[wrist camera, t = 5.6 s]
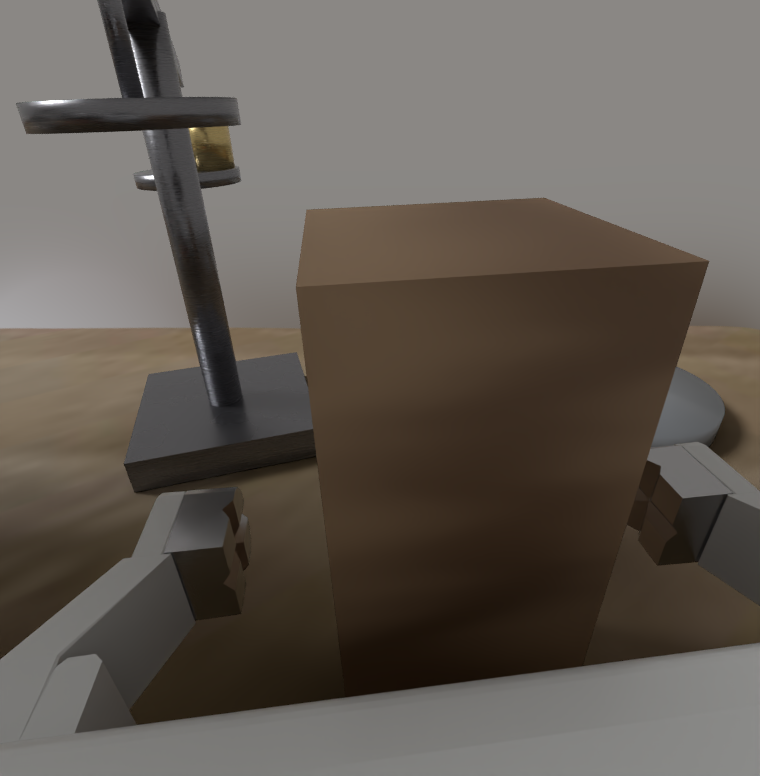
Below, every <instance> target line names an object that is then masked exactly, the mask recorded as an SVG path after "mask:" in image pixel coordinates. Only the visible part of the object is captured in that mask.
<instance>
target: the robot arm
mask: <svg viewBox="0 0 760 776" xmlns="http://www.w3.org/2000/svg"><path fill="white" fill-rule="evenodd" d="M243 504H244V500H243V496H242V493H241V489H240V488H238V487H230V488H216V489H203V490H189V491H181V492H168V493H162V494H160V495H159V496H158V497H157V498H156V501H155V503H154V505H153V508H152V510H151V512H150V515H149V517H148V519H147V522H146V524H145V526H144V529H143V531H142V533H141V536H140V538H139V540H138V543H137V545H136V548H135V550H134V552H133V555H132V557H131V558H124V559H122V560H121V561H120V562H118V563H117V564H116V565H115V566H113V567H112V568H111V569H110V570H109V571H107V572H106V573H105V574H104V575H102V576H101V577H100V578H99V579H98V580H96V581H95V582H94V583H93V584H92V585H90V586H89V587H88V588H87V589H85V590H84V591H83V592H82V593H81V594H79V595H78V596H77V597H76V598H74V599H73V600H72V601H71V602H70V603H68V604H67V605H66V606H65V607H64V608H62V609H61V610H60V611H59V612H57V613H56V614H55V615H54V616H53V617H51V618H50V619H49V620H48V621H46V622H45V623H44V624H43V625H42V626H40V627H39V628H38V629H37V630H36V631H34V632H33V633H32V634H31V635H29V636H28V637H27V638H26V639H25V640H23V641H22V642H21V643H20V644H18V645H17V646H16V647H15V648H14V649H12V650H11V651H10V652H9V653H8V654H6V655H5V656H4V657H3V658H1V659H0V776H760V643H754V644H746V645H739V646H731V647H724V648H716V649H709V650H701V651H694V652H686V653H678V654H671V655H663V656H656V657H648V658H641V659H633V660H626V661H618V662H611V663H603V664H596V665H588V666H581V667H573V668H566V669H558V670H551V671H543V672H536V673H528V674H521V675H513V676H506V677H498V678H491V679H483V680H475V681H468V682H460V683H452V684H445V685H437V686H429V687H422V688H414V689H407V690H399V691H391V692H384V693H376V694H368V695H361V696H353V697H346V698H338V699H330V700H323V701H315V702H307V703H300V704H292V705H285V706H277V707H270V708H262V709H255V710H247V711H239V712H232V713H224V714H217V715H209V716H202V717H194V718H187V719H179V720H172V721H164V722H156V723H149V724H141V725H137V724H136V722H135V720H134V718H133V717H132V715H131V713H130V711H129V710H130V708H131V707H132V706H133V704H134V703H135V702H136V701H137V699H138V698H139V697H140V695H141V694H142V693H143V691H144V690H145V689H146V687H147V686H148V685H149V684H150V682H151V681H152V680H153V678H154V677H155V676H156V674H157V673H158V672H159V671H160V669H161V668H162V667H163V665H164V664H165V663H166V661H167V660H168V659H169V658H170V656H171V655H172V654H173V652H174V651H175V650H176V648H177V647H178V646H179V644H180V643H181V642H182V641H183V639H184V638H185V637H186V635H187V634H188V633H189V631H190V630H191V629H192V628H193V626H194V625H195V624H196V623H195V621H196V620H203V619H210V618H217V617H224V616H231V615H238V614H241V612H242V606H243V600H244V594H245V588H246V582H245V577H244V573H243V571H244V570H245V569H246V568H247V567H248V565H249V562H250V554H251V534H250V526H249V522H248V518H247V517H246V516H244V515H243V514H242V510H243ZM627 525H629V526H631V527H632V528H634V529H636V530H638V531H639V537H638V541H639V542H640V543H641V545H642V546H643V547H644V549H645V550H646V551H647V553H648V554H649V555H650V557H651V558H652V559H653V561H654V562H655V563H656V564H657V566H658V565H669V564H681V563H692V562H698V565H699V566H701V567H702V568H704V569H705V570H707V571H708V572H710V573H711V574H713V575H714V576H716V577H717V578H719V579H720V580H722V581H723V582H725V583H726V584H728V585H729V586H731V587H732V588H734V589H735V590H737V591H738V592H740V593H741V594H743V595H744V596H746V597H747V598H749V599H750V600H752V601H753V602H755V603H756V604H758V605H759V606H760V491H759V490H758V489H757V488H755V487H754V486H753V485H752V484H751V483H749V482H748V481H747V480H746V479H745V478H744V477H742V476H741V475H740V474H739V473H738V472H737V471H735V470H734V469H733V468H732V467H731V466H730V465H728V464H727V463H726V462H725V461H724V460H723V459H721V458H720V457H719V456H718V455H717V454H716V453H714V452H713V451H712V450H711V449H710V448H708V447H707V446H706V445H704V444H702V443H699V442H690V443H682V444H674V445H668V446H659V447H651V448H650V452H649V455H648V458H647V461H646V464H645V467H644V471H643V474H642V477H641V480H640V483H639V487H638V490H637V493H636V496H635V499H634V503H633V506H632V509H631V512H630V515H629V518H628V522H627Z"/></svg>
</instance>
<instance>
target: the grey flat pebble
mask: <svg viewBox="0 0 760 776" xmlns="http://www.w3.org/2000/svg"><path fill="white" fill-rule="evenodd" d="M724 414H725V407H724V403H723V401H722V399H721V397H720V396H719V395H718V393H717V392H716V391H715V390H714V389H713V388H712V387H711V386H710V385H708V384H707V383H706V382H704V381H703V380H701V379H700V378H698V377H696V376H695V375H693V374H691V373H689V372H687V371H685V370H683V369H681V368H678V367H676V369H675V372H674V375H673V378H672V381H671V385H670V388H669V391H668V394H667V397H666V401H665V404H664V407H663V410H662V413H661V416H660V420H659V423H658V426H657V429H656V432H655V436H654V439H653V442H652V445H651V447H659V446H668V445H674V444H682V443H690V442H699V443H702V444H704V445H706V446H707V447H709V446H710V445H711V444H712V443H713V441H714V439H715V437H716V434H717V432H718V429H719V427H720V424H721V422H722V419H723V416H724Z"/></svg>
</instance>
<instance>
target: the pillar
mask: <svg viewBox="0 0 760 776" xmlns="http://www.w3.org/2000/svg"><path fill="white" fill-rule="evenodd" d="M708 263H709V261H708V260H705V259H703V258H700V257H697V256H695V255H692V254H689V253H687V252H684V251H681V250H679V249H676V248H674V247H671V246H669V245H666V244H663V243H661V242H658V241H656V240H653V239H650V238H648V237H645V236H642V235H640V234H637V233H635V232H632V231H629V230H627V229H624V228H622V227H619V226H617V225H614V224H611V223H609V222H606V221H604V220H601V219H598V218H596V217H593V216H590V215H588V214H585V213H583V212H580V211H577V210H575V209H572V208H570V207H567V206H564V205H562V204H559V203H557V202H554V201H551V200H548V199H546V198H532V199H511V200H491V201H472V202H453V203H452V202H451V203H434V204H433V203H432V204H413V205H393V206H372V207H352V208H334V209H333V208H332V209H313V210H307V211H306V218H305V225H304V233H303V240H302V247H301V254H300V261H299V269H298V276H297V283H296V292H297V300H298V308H299V316H300V324H301V333H302V341H303V349H304V358H305V366H306V374H307V382H308V391H309V399H310V407H311V415H312V424H313V432H314V440H315V448H316V457H317V465H318V473H319V481H320V490H321V498H322V506H323V514H324V523H325V531H326V539H327V547H328V556H329V564H330V572H331V580H332V589H333V597H334V605H335V613H336V622H337V630H338V638H339V646H340V655H341V663H342V671H343V679H344V687H345V696H346V697H353V696H361V695H368V694H376V693H384V692H391V691H399V690H407V689H414V688H422V687H429V686H437V685H445V684H452V683H460V682H468V681H475V680H483V679H491V678H498V677H506V676H513V675H521V674H528V673H536V672H543V671H551V670H558V669H566V668H573V667H581V666H582V665H583V662H584V659H585V655H586V652H587V649H588V646H589V643H590V639H591V636H592V633H593V630H594V627H595V624H596V620H597V617H598V614H599V611H600V608H601V604H602V601H603V598H604V595H605V592H606V589H607V585H608V582H609V579H610V576H611V573H612V569H613V566H614V563H615V560H616V557H617V553H618V550H619V547H620V544H621V541H622V538H623V534H624V531H625V528H626V525H627V522H628V518H629V515H630V512H631V509H632V506H633V503H634V499H635V496H636V493H637V490H638V487H639V483H640V480H641V477H642V474H643V471H644V467H645V464H646V461H647V458H648V455H649V452H650V448H651V445H652V442H653V439H654V436H655V432H656V429H657V426H658V423H659V420H660V416H661V413H662V410H663V407H664V404H665V401H666V397H667V394H668V391H669V388H670V385H671V381H672V378H673V375H674V372H675V369H676V366H677V362H678V359H679V356H680V353H681V350H682V346H683V343H684V340H685V337H686V334H687V330H688V327H689V324H690V321H691V318H692V314H693V311H694V308H695V305H696V302H697V299H698V295H699V292H700V289H701V286H702V283H703V279H704V276H705V273H706V270H707V267H708Z"/></svg>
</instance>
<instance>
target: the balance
mask: <svg viewBox="0 0 760 776" xmlns="http://www.w3.org/2000/svg"><path fill="white" fill-rule="evenodd" d="M97 1H98V5H99V8H100V12H101V16H102V20H103V24H104V28H105V32H106V36H107V40H108V43H109V48H110V51H111V55H112V59H113V63H114V67H115V71H116V75H117V79H118V83H119V87H120V90H121V95H122V98H108V99H77V100H53V101H35V102H22V103H16V106H17V108H18V111H19V114H20V117H21V120H22V123H23V125H24V128H25V131H26V134H53V133H54V134H55V133H86V132H87V133H88V132H115V131H138V130H139V131H140V130H142V131H143V135H144V139H145V143H146V147H147V151H148V155H149V159H150V163H151V168H152V170H146V171H141V172H137V173H134V174H133V175H134V179H135V182H136V186H137V188H138V189H141V190H151V191H157V192H158V196H159V200H160V204H161V208H162V212H163V217H164V220H165V224H166V228H167V233H168V237H169V241H170V245H171V249H172V253H173V257H174V261H175V265H176V269H177V274H178V277H179V282H180V286H181V290H182V294H183V298H184V302H185V306H186V310H187V314H188V319H189V323H190V327H191V331H192V335H193V339H194V343H195V347H196V351H197V355H198V359H199V363H200V367H194V368H187V369H181V370H174V371H167V372H160V373H154V374H149V375H148V378H147V382H146V386H145V389H144V393H143V396H142V400H141V404H140V407H139V411H138V414H137V418H136V422H135V425H134V429H133V433H132V436H131V440H130V443H129V447H128V451H127V454H126V458H125V462H124V466H125V468H126V471H127V474H128V476H129V479H130V482H131V484H132V487H133V490H134V492H138V491H143V490H148V489H153V488H159V487H164V486H169V485H174V484H179V483H184V482H189V481H194V480H199V479H204V478H209V477H214V476H219V475H224V474H229V473H234V472H239V471H244V470H249V469H254V468H259V467H264V466H269V465H274V464H279V463H284V462H290V461H295V460H300V459H305V458H310V457H315V456H316V448H315V440H314V432H313V424H312V415H311V407H310V399H309V391H308V386H307V383H306V380H305V377H304V374H303V371H302V367H301V364H300V361H299V358H298V355H297V352H296V353H289V354H282V355H275V356H269V357H262V358H255V359H248V360H242V361H236V360H235V355H234V350H233V346H232V341H231V336H230V331H229V326H228V321H227V316H226V311H225V306H224V301H223V296H222V291H221V286H220V281H219V276H218V271H217V266H216V261H215V256H214V252H213V247H212V242H211V237H210V232H209V227H208V222H207V217H206V212H205V207H204V202H203V197H202V193H201V189H202V188H212V187H219V186H225V185H230V184H235V183H238V182H240V181H241V177H240V170H239V167H237V166H235V164H234V158H233V153H232V146H231V141H230V134H229V128H228V126H234V125H241V122H240V116H239V109H238V103H237V98H230V97H229V98H228V97H182V94H181V88H180V87H184V86H183V81H182V75H181V70H180V66H179V61H178V58H177V55H176V52H175V49H174V47H173V44H172V41H171V38H170V34H169V29H168V24H167V19H166V14H165V13H164V12H161V10H160V7H159V4H158V1H157V0H97Z"/></svg>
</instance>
